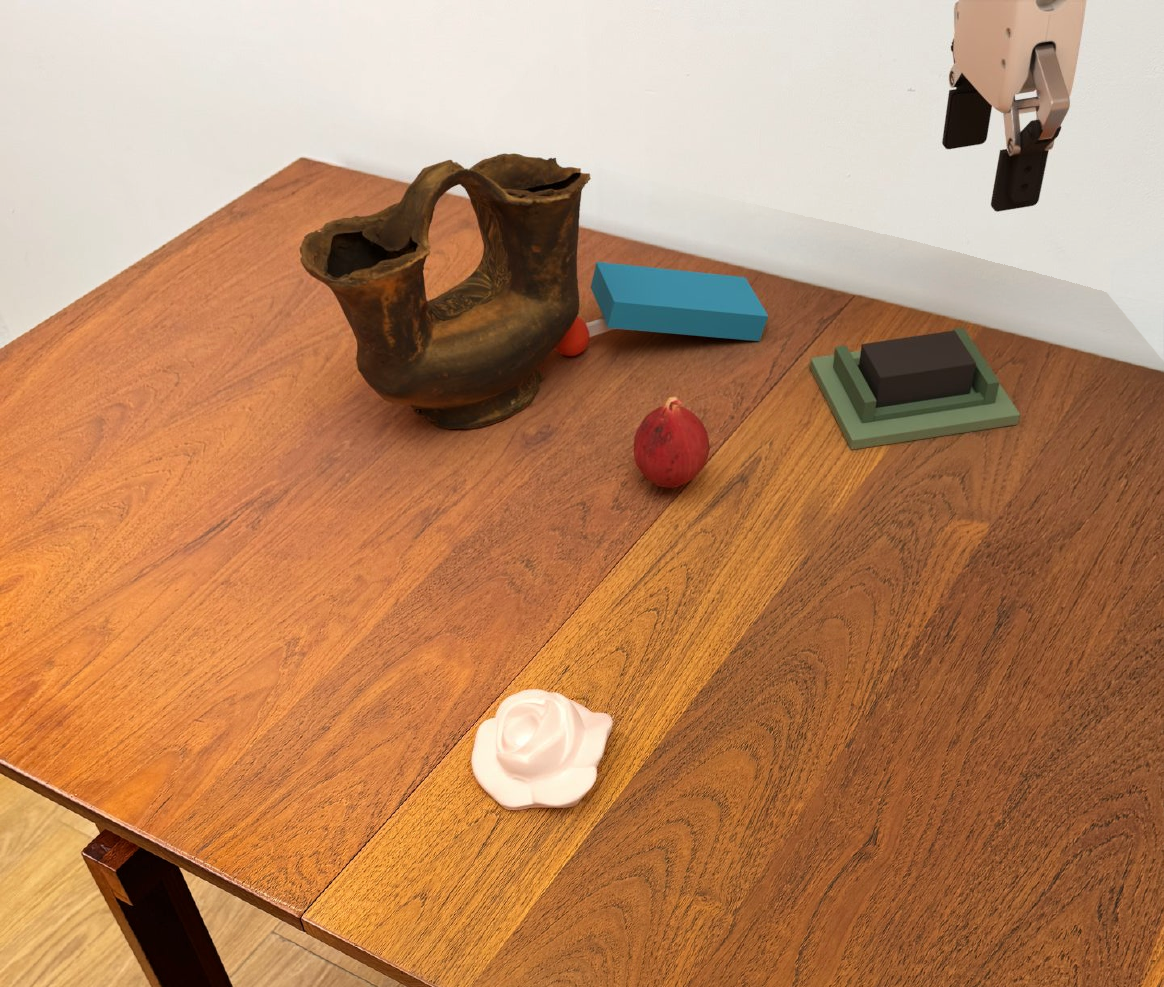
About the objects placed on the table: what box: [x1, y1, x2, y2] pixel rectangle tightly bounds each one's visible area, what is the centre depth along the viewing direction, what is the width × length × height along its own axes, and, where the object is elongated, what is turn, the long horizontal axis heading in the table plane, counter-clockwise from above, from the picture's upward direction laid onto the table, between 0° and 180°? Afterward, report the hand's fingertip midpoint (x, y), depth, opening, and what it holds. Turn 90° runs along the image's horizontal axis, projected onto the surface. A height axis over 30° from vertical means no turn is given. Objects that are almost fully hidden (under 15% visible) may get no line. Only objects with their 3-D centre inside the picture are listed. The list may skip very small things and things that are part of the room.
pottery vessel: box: [299, 153, 591, 430], centre depth 101 cm, size 25×11×20 cm, turn 129°
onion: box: [633, 395, 711, 489], centre depth 96 cm, size 6×6×8 cm
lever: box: [555, 261, 769, 357], centre depth 112 cm, size 7×7×18 cm
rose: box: [470, 688, 614, 811], centre depth 81 cm, size 10×4×10 cm
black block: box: [859, 329, 976, 408], centre depth 103 cm, size 8×5×3 cm, turn 99°
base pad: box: [809, 327, 1021, 451], centre depth 104 cm, size 14×12×3 cm
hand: (987, 175), depth 89 cm, fingers open, 9 cm apart
